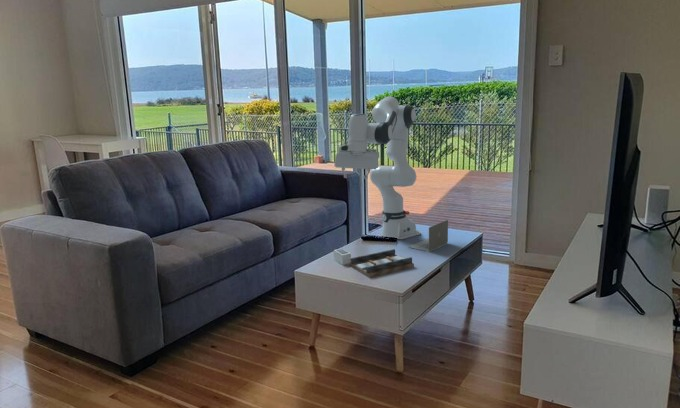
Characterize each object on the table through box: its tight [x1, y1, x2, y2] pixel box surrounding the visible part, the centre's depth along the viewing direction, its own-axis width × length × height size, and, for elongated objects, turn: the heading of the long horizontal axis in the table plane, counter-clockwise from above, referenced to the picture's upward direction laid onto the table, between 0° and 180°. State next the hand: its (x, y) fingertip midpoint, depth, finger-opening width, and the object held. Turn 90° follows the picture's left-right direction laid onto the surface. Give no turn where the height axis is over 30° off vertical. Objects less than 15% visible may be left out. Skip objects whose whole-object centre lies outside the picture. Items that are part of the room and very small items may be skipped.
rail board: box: [349, 248, 415, 278], centre depth 231 cm, size 24×18×4 cm
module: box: [333, 248, 352, 266], centre depth 240 cm, size 4×9×5 cm, turn 27°
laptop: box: [408, 219, 449, 253], centre depth 258 cm, size 18×12×13 cm
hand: (355, 178), depth 230 cm, fingers open, 8 cm apart
